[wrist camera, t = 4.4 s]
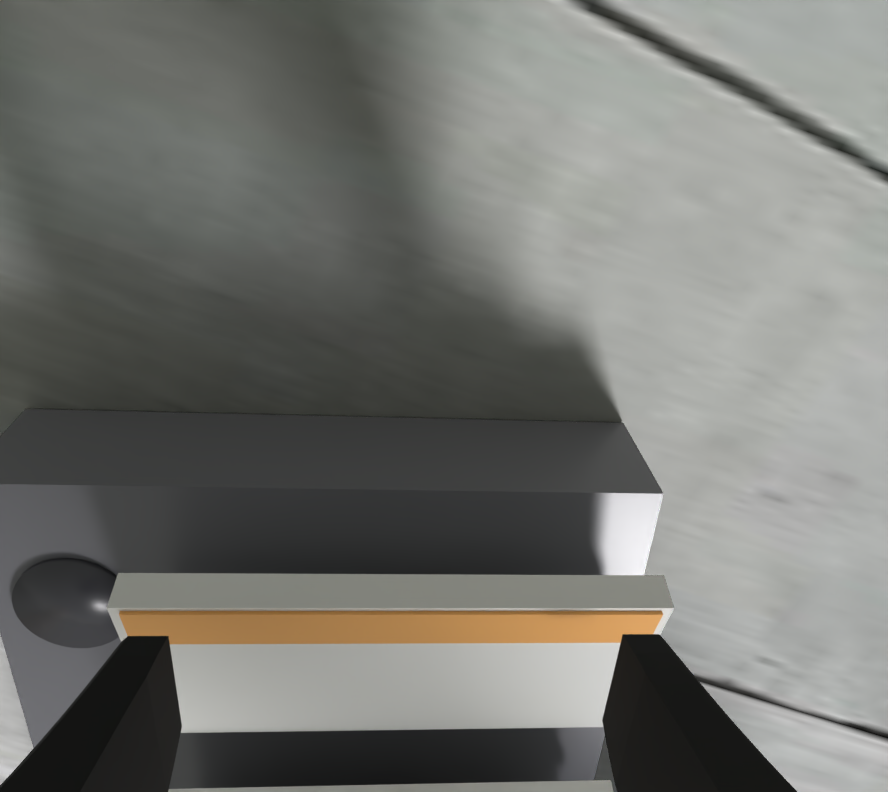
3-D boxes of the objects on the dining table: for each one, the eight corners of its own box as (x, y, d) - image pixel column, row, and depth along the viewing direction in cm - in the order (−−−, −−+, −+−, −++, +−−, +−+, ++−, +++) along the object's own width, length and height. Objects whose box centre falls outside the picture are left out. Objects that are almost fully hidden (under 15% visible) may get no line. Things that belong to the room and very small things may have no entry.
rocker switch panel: (534, 860, 26) (552, 961, 23) (130, 872, 25) (98, 980, 22) (623, 422, 18) (666, 497, 15) (25, 408, 17) (-48, 487, 14)
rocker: (601, 680, 18) (611, 730, 17) (171, 683, 17) (159, 736, 16) (658, 557, 14) (675, 611, 13) (124, 554, 13) (104, 611, 12)
